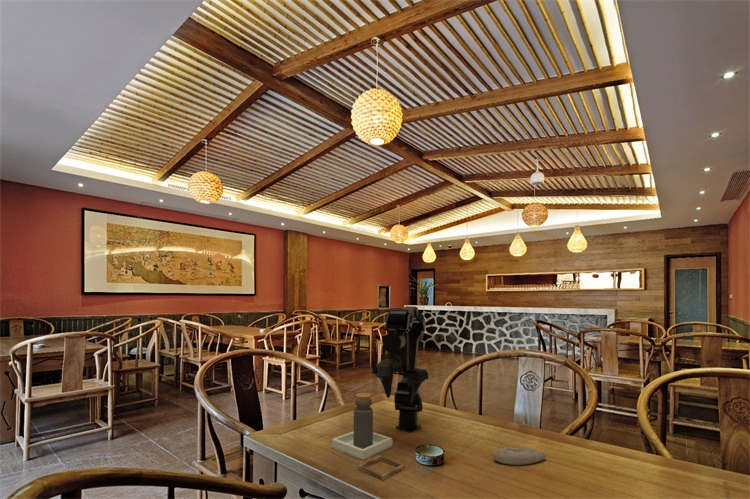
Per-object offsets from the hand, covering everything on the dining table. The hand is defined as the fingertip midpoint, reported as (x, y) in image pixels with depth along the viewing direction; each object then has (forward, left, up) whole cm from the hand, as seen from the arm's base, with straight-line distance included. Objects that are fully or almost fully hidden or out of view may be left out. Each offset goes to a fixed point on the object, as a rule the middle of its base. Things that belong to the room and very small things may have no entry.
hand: (399, 400), depth 127 cm
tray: (+10, -7, -13) cm, 18 cm away
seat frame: (+17, +7, -13) cm, 23 cm away
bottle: (+10, -6, -13) cm, 17 cm away
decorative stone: (-13, +32, -14) cm, 38 cm away
